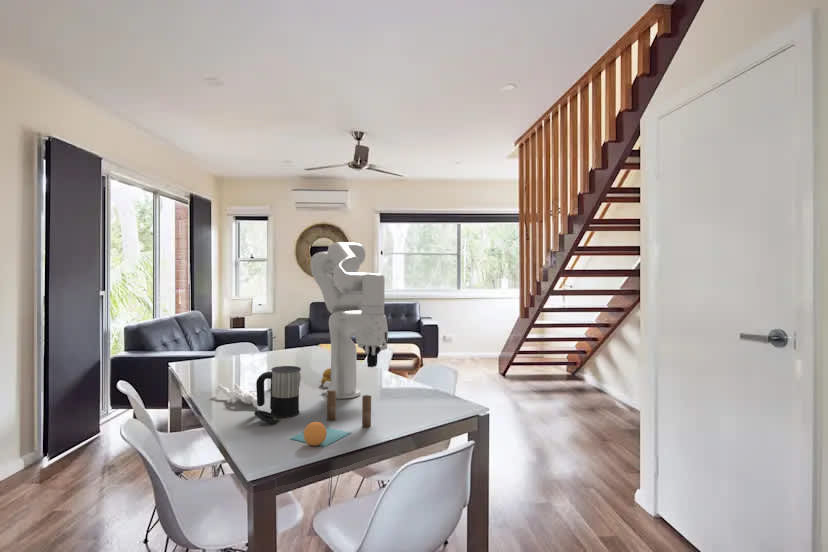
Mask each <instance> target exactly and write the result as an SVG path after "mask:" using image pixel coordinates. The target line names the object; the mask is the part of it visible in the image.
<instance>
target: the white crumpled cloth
mask: <svg viewBox="0 0 828 552" xmlns="http://www.w3.org/2000/svg"><path fill="white" fill-rule="evenodd" d="M233 387H234V388H233V390H232V391H230V389H229V388H228V387H224V386H223V385H222V384H217V387H216V389H215V395H216V396H218V395H219V394H220V393H221V392H222V393H223V394H225V395H226V397H227V398H226V400H227V401H226V402H227V404H230V403H231V404H234V400H236V399H239V400H240V401H241V402H242V403H244V404H252V405H253V407H255V408H258V407H259V408H260V406H258V405H257V390H255V391H249V390H247V388H246V389H244V388H243V387H242V386H239V385H238V384H237V383H234V385H233ZM220 391H221V392H220Z"/></svg>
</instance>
